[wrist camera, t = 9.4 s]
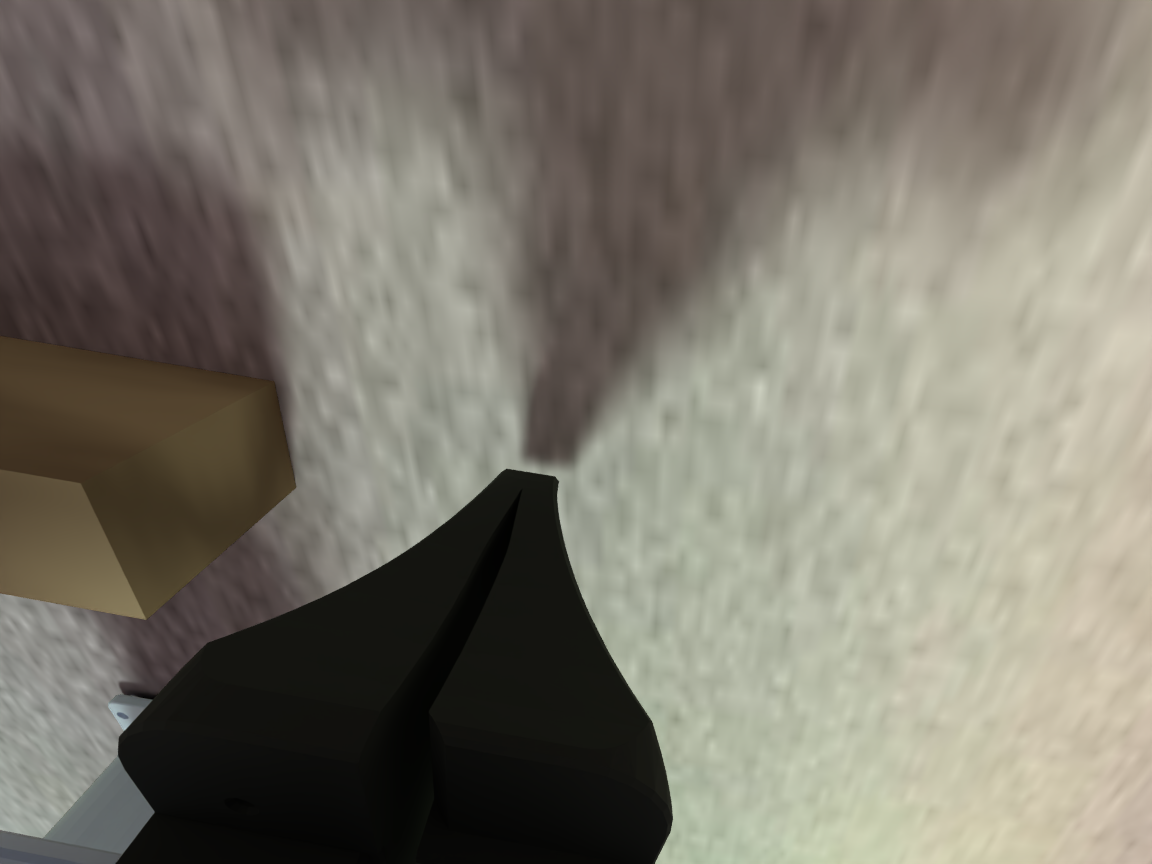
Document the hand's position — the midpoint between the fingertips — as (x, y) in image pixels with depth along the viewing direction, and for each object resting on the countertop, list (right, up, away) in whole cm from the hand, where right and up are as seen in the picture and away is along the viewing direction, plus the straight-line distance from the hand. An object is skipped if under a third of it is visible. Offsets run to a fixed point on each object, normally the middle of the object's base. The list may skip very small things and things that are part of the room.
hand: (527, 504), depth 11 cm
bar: (-13, +3, +2) cm, 13 cm away
